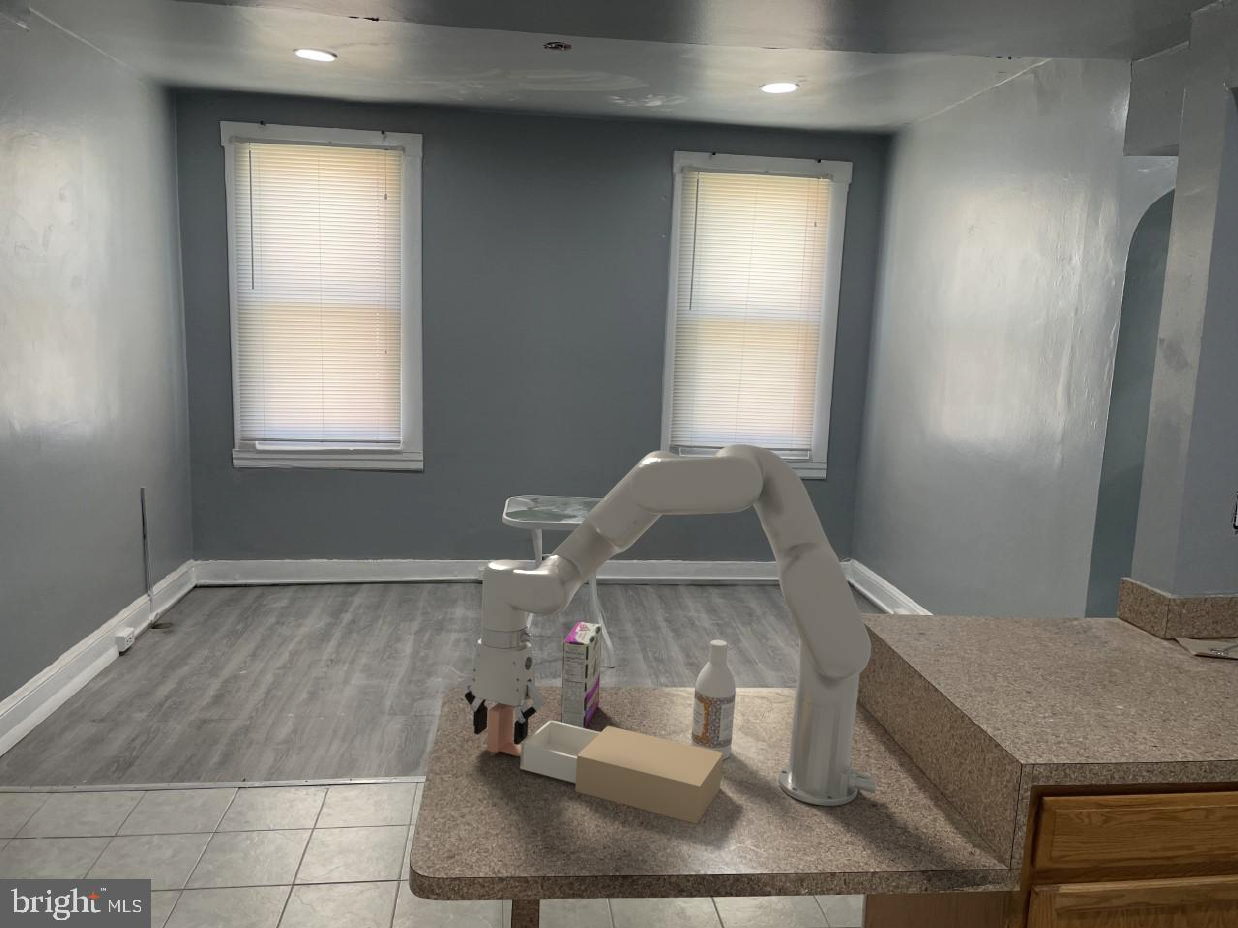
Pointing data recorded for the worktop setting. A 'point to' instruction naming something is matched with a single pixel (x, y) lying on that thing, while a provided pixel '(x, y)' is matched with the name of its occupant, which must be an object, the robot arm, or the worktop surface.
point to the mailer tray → (539, 744)
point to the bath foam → (714, 703)
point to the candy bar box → (581, 674)
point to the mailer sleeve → (649, 773)
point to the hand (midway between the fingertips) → (500, 735)
